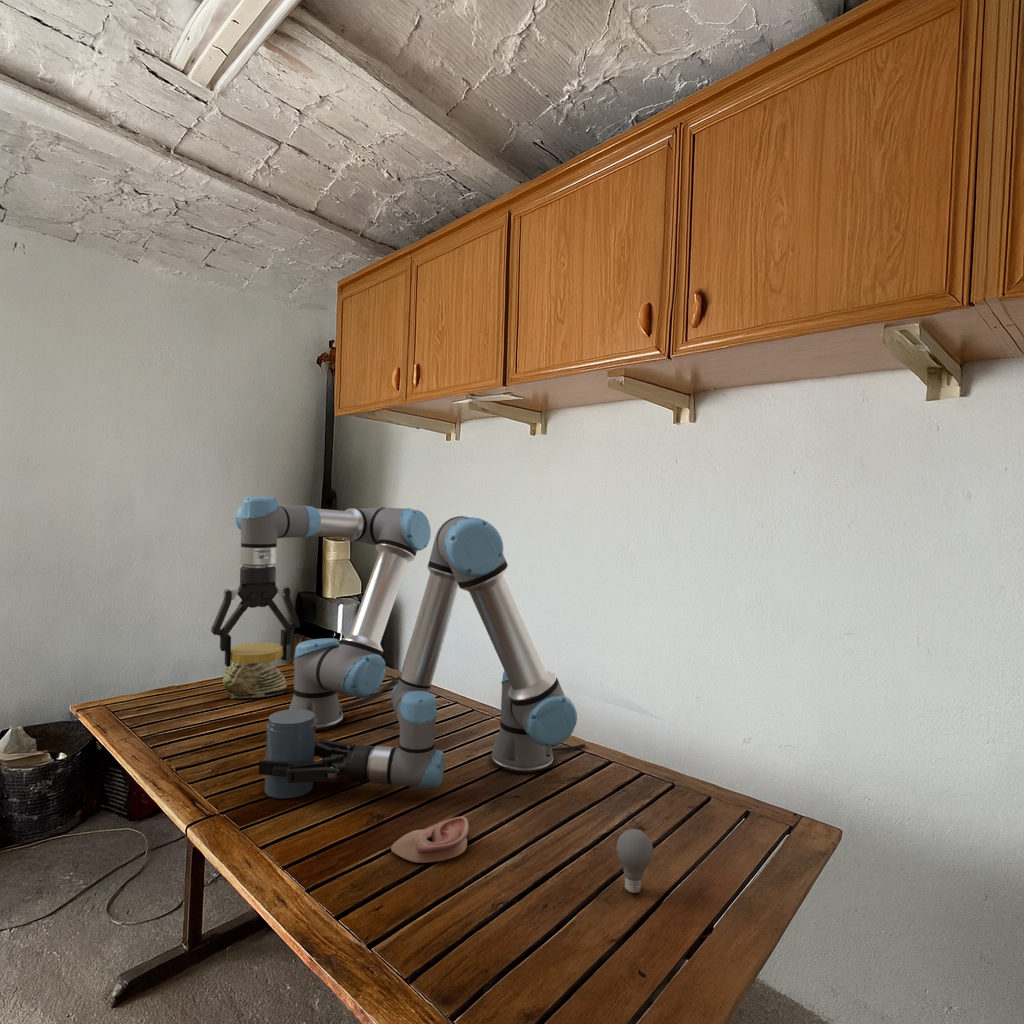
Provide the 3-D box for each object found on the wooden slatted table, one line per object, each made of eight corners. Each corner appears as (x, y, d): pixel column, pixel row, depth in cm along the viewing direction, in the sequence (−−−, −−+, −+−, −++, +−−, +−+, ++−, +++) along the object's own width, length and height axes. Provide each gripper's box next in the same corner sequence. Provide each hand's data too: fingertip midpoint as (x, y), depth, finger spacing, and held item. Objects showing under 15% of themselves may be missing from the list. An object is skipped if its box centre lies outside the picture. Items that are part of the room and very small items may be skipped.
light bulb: (610, 879, 108) (613, 822, 108) (644, 879, 109) (647, 822, 109) (619, 902, 102) (622, 840, 102) (655, 901, 103) (658, 840, 103)
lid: (217, 659, 140) (217, 651, 140) (255, 648, 150) (255, 640, 150) (257, 666, 136) (257, 657, 136) (293, 654, 146) (293, 646, 146)
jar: (318, 792, 136) (321, 720, 135) (268, 802, 130) (271, 727, 130) (307, 774, 144) (310, 705, 144) (260, 782, 139) (263, 711, 139)
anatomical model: (384, 835, 112) (408, 805, 123) (383, 857, 112) (407, 825, 123) (456, 847, 109) (474, 815, 120) (455, 869, 109) (473, 836, 121)
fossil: (218, 695, 195) (220, 647, 195) (278, 685, 208) (279, 640, 207) (228, 703, 189) (230, 653, 188) (289, 692, 201) (290, 645, 201)
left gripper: (202, 569, 133) (200, 672, 133) (316, 565, 146) (313, 659, 146) (197, 565, 139) (195, 664, 140) (306, 562, 152) (304, 652, 153)
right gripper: (354, 807, 125) (245, 798, 126) (385, 760, 147) (292, 753, 149) (355, 769, 125) (246, 761, 126) (386, 728, 147) (293, 721, 149)
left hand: (256, 662), depth 143 cm, fingers closed on lid, 11 cm apart
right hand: (271, 756), depth 137 cm, fingers closed on jar, 10 cm apart
